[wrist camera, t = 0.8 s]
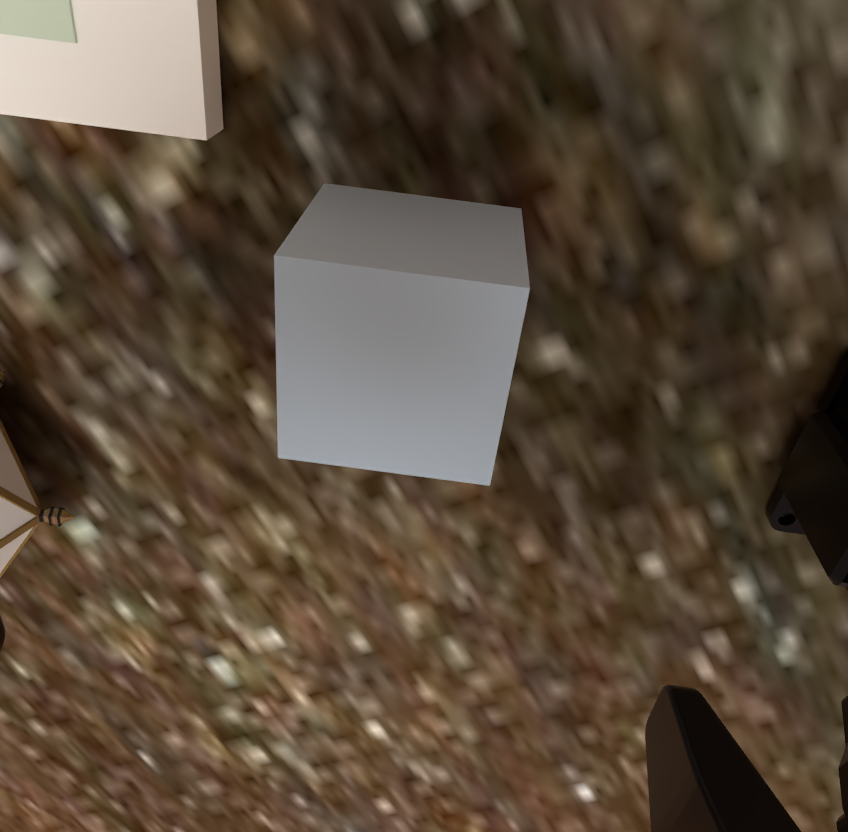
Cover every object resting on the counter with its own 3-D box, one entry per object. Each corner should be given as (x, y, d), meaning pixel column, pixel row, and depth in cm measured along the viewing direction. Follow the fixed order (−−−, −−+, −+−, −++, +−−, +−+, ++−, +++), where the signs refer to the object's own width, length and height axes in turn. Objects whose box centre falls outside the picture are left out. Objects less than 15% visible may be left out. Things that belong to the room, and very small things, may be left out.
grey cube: (521, 207, 18) (530, 288, 14) (490, 376, 20) (489, 485, 16) (324, 182, 18) (273, 255, 14) (321, 353, 21) (277, 457, 16)
